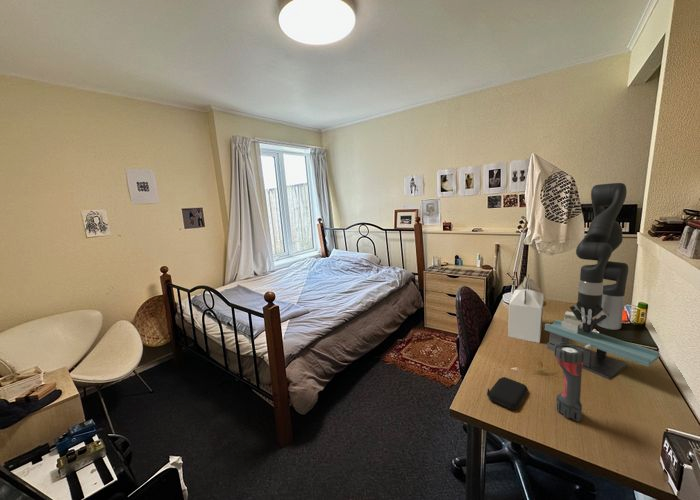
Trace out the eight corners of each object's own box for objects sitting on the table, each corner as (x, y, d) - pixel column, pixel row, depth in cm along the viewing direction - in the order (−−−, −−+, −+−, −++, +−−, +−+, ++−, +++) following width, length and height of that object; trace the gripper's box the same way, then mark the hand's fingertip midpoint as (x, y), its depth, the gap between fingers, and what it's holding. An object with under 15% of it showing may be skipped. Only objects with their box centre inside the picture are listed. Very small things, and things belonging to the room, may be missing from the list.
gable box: (513, 319, 160) (515, 271, 155) (542, 324, 152) (544, 273, 147) (507, 337, 142) (509, 283, 137) (539, 343, 135) (542, 286, 129)
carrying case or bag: (498, 379, 113) (483, 399, 103) (498, 372, 112) (483, 392, 102) (529, 391, 105) (515, 414, 95) (529, 384, 105) (516, 406, 95)
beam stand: (560, 341, 135) (561, 325, 134) (627, 366, 114) (629, 347, 113) (541, 350, 129) (542, 334, 127) (608, 379, 108) (610, 360, 106)
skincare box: (580, 337, 137) (582, 313, 135) (579, 341, 134) (581, 316, 132) (564, 333, 141) (565, 310, 139) (562, 337, 138) (564, 313, 136)
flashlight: (550, 399, 100) (554, 339, 96) (579, 407, 95) (584, 344, 91) (550, 414, 94) (554, 350, 89) (581, 423, 89) (587, 356, 85)
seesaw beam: (557, 334, 135) (558, 317, 134) (659, 371, 105) (662, 349, 104) (540, 343, 129) (541, 325, 128) (643, 384, 99) (646, 361, 98)
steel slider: (566, 328, 126) (567, 317, 125) (582, 333, 121) (583, 322, 120) (560, 331, 124) (561, 320, 123) (576, 336, 119) (577, 325, 118)
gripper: (615, 293, 111) (611, 335, 114) (576, 285, 122) (573, 323, 126) (606, 298, 107) (602, 340, 111) (566, 289, 119) (564, 328, 122)
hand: (587, 331), depth 118 cm, fingers closed
